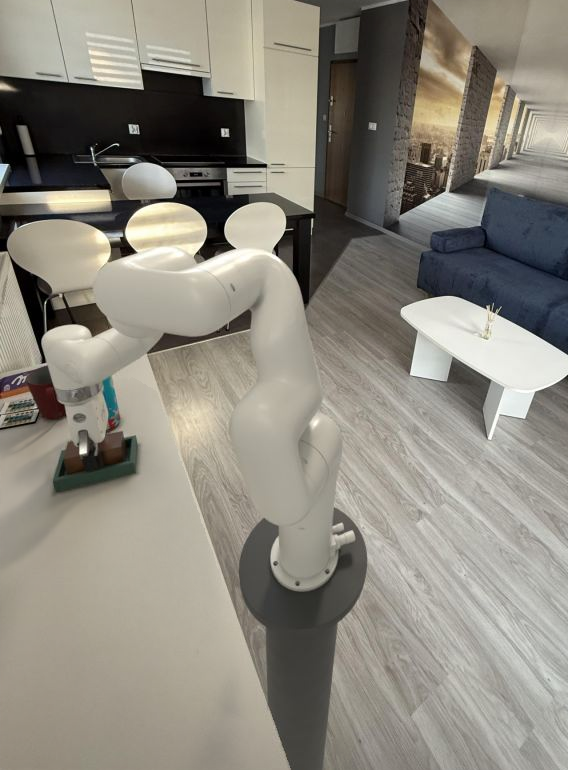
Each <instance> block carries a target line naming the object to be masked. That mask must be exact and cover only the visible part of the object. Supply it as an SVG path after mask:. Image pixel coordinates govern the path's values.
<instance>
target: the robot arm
mask: <svg viewBox="0 0 568 770" xmlns="http://www.w3.org/2000/svg"><path fill="white" fill-rule="evenodd" d="M92 295H93V300H94V302H95V304H96V306H97V308H98V309H99V310H100V312H101V313H102V314H103V315H104V316H105V317H106V319H107V321H108V324H110V326H111V328H109V329H107V330H105V331H103V332H100V333H99V334H96V335H95V336H93V335H92V333H91V331H90V329H89V328H88V327H87V326H84V325H81V324H65V325H61V326H56V327H54V328H52V329H49V330H48V331H46V332H45V333H44V334H43V336H42V338H41V348H42V352H43V355H44V357H45V360H46V364H47V365H48V368H49V372H50V375H51V379H52V382H53V386H54V389H55V392H56V396H57V399H58V401H59V402H60V403H62V404H65V410H66V415H67V416H66V420H67V425H68V429H69V433H70V438H71V441H73V443H74V445H75V446H77V447H79V454H80V457H81V459H82V462H83V466H84V469H85V471H91V470H95V469H100V468H103V465H104V464H103V460H102V456H101V452H100V451H98V445H97V443H99V442H102V441H103V440H104V438H105V434H108V432H107V431H106V428H107V422H108V410H107V406H106V403H105V399H104V396H103V393H102V391H103V383H102V381H103V380H105V379H107V378H108V377H110V376H112V377H113V376H114V375H115V374H117V373H118V372H119V371H121V370H123V369H124V368H126V367H128V366H129V365H131V364H133V363H134V362H136V361H139V360H140V359H141V358H142V357H144V356H145V355H147V353H149V352H150V350H152V349H153V347H154V346H155V345H156V344H157V343H158V342H159V341H160V340H161V338H162V337H163V336H164V334H169V335H174V336H175V335H176V336H181V337H190V338H191V337H202V336H207V335H209V334H212V333H214V332H216V331H218V330H220V329H221V328H223V327H224V326H226V325H227V324H229V323H230V322H231V321H233V320H234V319H236V318H238V317H239V316H240V315H242V314H243V313H244V312H246V311H248V310H249V311H250V313H251V320H250V328H249V329H250V330H249V344H250V349H251V350H250V351H251V354H252V356H253V360H254V363H255V367H256V375H257V378H256V380H255V381H256V382H255V383H254V385H253V386H252V387H251V388H250V389H249V391H247V393H245V395H244V396H243V397H242V398H241V399H240V400H239V401H238V403H236V405H235V407H234V408H233V410H232V412H231V415H230V418H229V424H228V435H229V440H230V444H231V448H232V451H233V452H234V453H233V454H234V456H235V460H236V462H237V464H238V467H239V468H238V469H239V471H240V474H241V476H242V479H243V482H244V485H245V488H246V491H247V493H248V497H249V498H250V501H251V502H252V504H253V506H254V508H255V509H256V511H257V512H258V513H259V514H260V515H261V516H262V517H263V518H265V519H266V520H268V521H269V522H271V523H273V524H275V525H278V526H279V536H278V537H277V538H276V540H275V542H274V544H273V546H272V550H271V556H270V563H271V569H272V572H273V574H274V576H275V578H276V579H277V581H278V582H279V583H280V584H282V585H283V586H284V587H286V588H288V589H290V590H293V591H299V592H304V591H310V590H314V589H316V588H318V587H320V586H322V585H323V584H324V583H326V582H327V581H328V580H329V578H330V577H331V576H332V574H333V573H334V571H335V569H336V566H337V562H338V549H340V546H342V545H344V544H348V543H351V542H354V541H355V535H354V532H353V530H351V531H348V532H345V533H343V534H341V535H339V536H338V535H337V534H335V535H333V534H334V533H336V532H340V531H343V530H344V526H343V523H339V524H336V525H335V526H332V525H333V512H334V507H335V500H336V491H337V480H338V475H339V470H340V466H341V461H342V457H343V447H344V444H343V436H342V433H341V430H340V428H339V425H337V423H336V422H335V421H334V419H332V418H331V417H330V416H328V415H327V414H324V413H322V412H318V411H319V409H320V407H321V405H322V402H323V399H324V388H323V384H322V379H321V375H320V371H319V367H318V363H317V359H316V355H315V350H314V346H313V342H312V339H311V336H310V332H309V327H308V322H307V317H306V310H305V304H304V299H303V295H302V291H301V287H300V285H299V283H298V280H297V278H296V276H295V275H294V273H293V271H292V270H291V268H290V267H289V266H288V265H287V264H286V262H285V261H283V260H282V259H281V258H279V256H277V255H275V254H274V253H272V252H270V251H269V250H266V249H263V248H259V247H246V246H245V247H238V248H235V249H231V250H228V251H225V252H222V253H220V254H218V255H215V256H213V257H211V258H208V259H207V260H205V261H202V262H199V263H198V262H197V261H196V258H195V257H194V256H193V255H192V254H191V253H189V252H188V251H186V250H185V249H183V248H181V247H177V246H171V245H162V246H157V247H152V248H149V249H146V250H143V251H140V252H136V253H134V254H130V255H127V256H123V257H121V258H118V259H115V260H113V261H110V262H108V263H107V264H105V265H104V266H102V267H101V268H100V269H99V271H98V272H97V273H96V275H95V277H94V279H93V283H92ZM88 438H91V439H92V440H89V441H88ZM90 444H93V449H94V450H90V449H89V446H88V445H90ZM275 565H276V566H275ZM327 573H328V574H327ZM297 585H299V586H297Z"/></svg>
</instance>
